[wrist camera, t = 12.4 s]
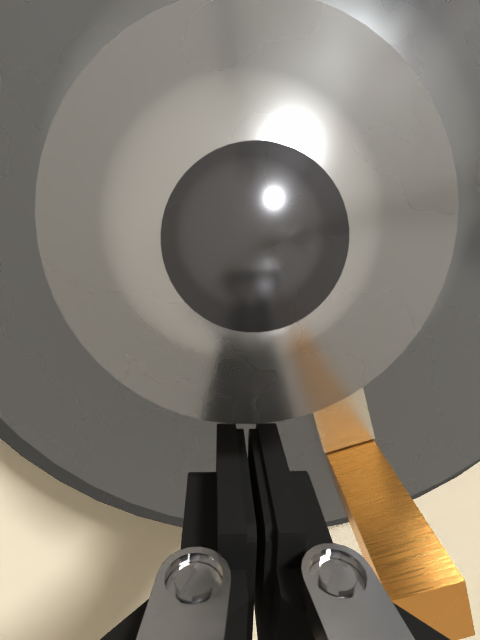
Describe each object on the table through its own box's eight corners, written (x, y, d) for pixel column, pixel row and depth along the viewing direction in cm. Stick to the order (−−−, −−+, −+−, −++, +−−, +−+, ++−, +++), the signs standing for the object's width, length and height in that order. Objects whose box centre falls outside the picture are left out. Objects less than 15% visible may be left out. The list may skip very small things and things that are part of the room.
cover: (341, 31, 10) (454, -123, 5) (393, 309, 12) (510, 382, 7) (57, 122, 10) (-85, 55, 5) (157, 379, 12) (118, 494, 7)
